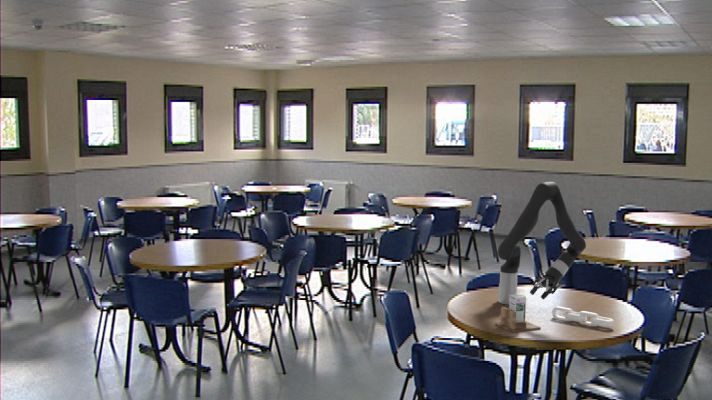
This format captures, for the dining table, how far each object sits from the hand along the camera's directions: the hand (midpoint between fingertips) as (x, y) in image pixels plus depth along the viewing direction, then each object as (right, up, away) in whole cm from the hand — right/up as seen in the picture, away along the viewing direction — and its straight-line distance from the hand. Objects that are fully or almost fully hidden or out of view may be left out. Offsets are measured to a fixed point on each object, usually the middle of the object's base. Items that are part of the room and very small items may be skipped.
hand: (536, 296), depth 336 cm
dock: (-10, -14, -3) cm, 18 cm away
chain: (+24, -15, +6) cm, 28 cm away
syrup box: (-11, -14, -4) cm, 18 cm away
